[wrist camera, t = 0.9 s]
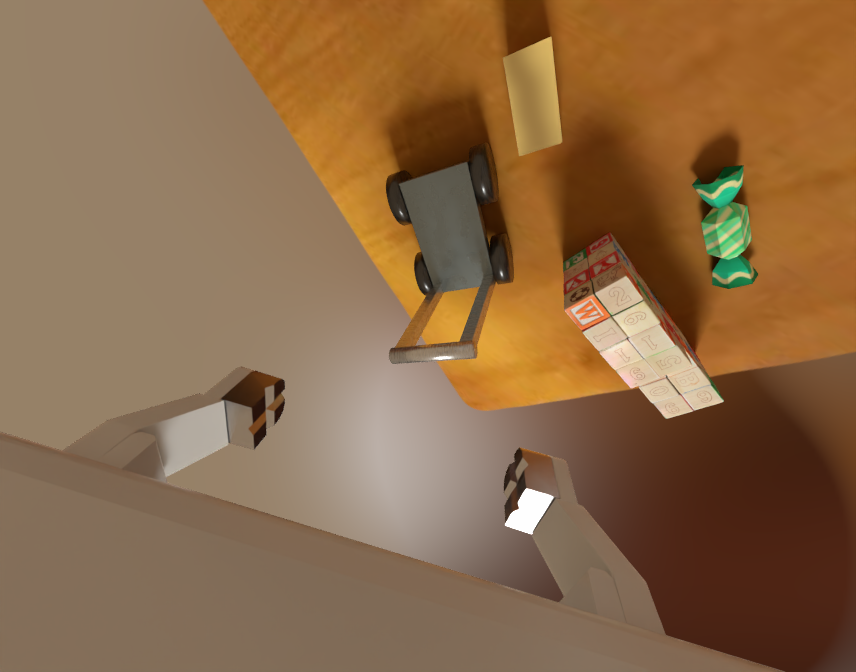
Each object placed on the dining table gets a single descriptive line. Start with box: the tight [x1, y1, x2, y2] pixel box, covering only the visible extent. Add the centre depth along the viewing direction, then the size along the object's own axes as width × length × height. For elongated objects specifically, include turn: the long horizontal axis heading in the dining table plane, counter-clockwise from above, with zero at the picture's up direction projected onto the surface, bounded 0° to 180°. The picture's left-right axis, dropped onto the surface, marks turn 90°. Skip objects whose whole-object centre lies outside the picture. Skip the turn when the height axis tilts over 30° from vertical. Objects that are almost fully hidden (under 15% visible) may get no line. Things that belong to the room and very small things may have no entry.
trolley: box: [386, 142, 514, 364], centre depth 35 cm, size 16×12×20 cm
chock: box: [503, 37, 562, 156], centre depth 32 cm, size 4×8×5 cm, turn 19°
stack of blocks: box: [563, 232, 724, 418], centre depth 39 cm, size 21×6×12 cm, turn 46°
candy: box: [692, 165, 758, 289], centre depth 34 cm, size 12×3×4 cm
